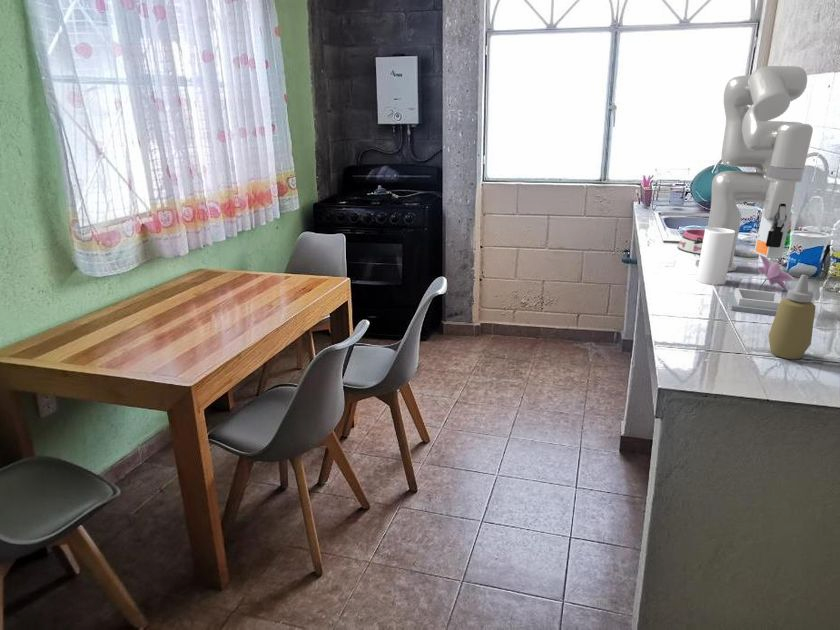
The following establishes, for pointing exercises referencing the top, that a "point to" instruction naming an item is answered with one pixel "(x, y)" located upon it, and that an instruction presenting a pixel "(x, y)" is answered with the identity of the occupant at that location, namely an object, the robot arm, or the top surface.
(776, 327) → the squeeze bottle
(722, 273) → the cup
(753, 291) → the grey square frame
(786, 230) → the skincare box
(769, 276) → the lily
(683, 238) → the dog bowl
